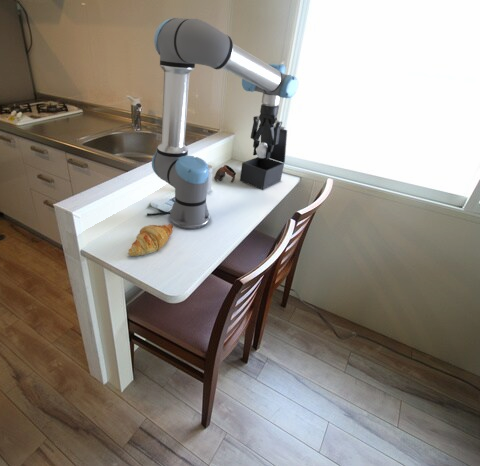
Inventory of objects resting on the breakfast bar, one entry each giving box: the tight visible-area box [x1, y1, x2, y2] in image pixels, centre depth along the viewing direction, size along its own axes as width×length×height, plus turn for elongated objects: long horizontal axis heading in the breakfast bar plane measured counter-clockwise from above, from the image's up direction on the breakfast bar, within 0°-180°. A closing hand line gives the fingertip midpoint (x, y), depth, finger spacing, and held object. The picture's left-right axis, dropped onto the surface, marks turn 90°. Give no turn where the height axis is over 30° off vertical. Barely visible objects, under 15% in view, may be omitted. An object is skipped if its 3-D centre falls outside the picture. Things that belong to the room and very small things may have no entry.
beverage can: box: [207, 163, 214, 194], centre depth 143 cm, size 6×6×12 cm
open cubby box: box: [239, 156, 285, 190], centre depth 157 cm, size 16×14×9 cm
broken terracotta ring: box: [213, 164, 237, 183], centre depth 156 cm, size 12×10×8 cm
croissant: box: [127, 223, 174, 257], centre depth 107 cm, size 21×10×8 cm, turn 145°
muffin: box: [256, 142, 267, 158], centre depth 148 cm, size 6×6×7 cm
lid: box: [260, 124, 288, 164], centre depth 154 cm, size 16×14×5 cm
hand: (261, 156), depth 150 cm, fingers closed on muffin, 6 cm apart
